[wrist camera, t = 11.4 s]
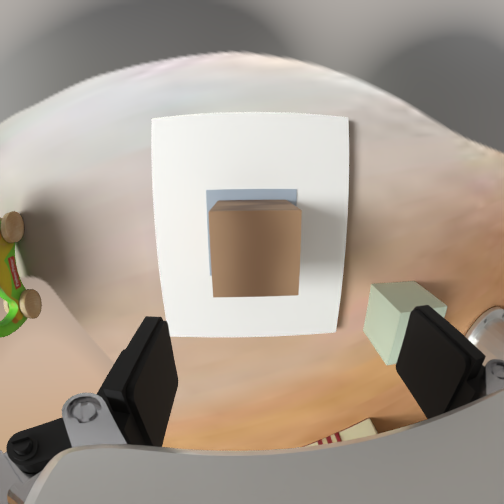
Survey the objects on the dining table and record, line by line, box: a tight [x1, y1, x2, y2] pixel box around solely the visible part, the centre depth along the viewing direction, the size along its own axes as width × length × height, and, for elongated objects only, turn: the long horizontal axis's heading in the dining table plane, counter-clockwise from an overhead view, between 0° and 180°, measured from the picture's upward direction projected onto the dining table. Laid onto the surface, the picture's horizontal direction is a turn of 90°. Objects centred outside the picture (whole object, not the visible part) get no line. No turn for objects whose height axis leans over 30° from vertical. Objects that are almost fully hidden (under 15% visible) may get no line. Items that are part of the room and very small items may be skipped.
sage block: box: [363, 281, 447, 365], centre depth 26 cm, size 6×6×7 cm
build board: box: [151, 112, 349, 337], centre depth 26 cm, size 18×22×1 cm
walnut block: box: [209, 200, 302, 297], centre depth 22 cm, size 6×6×7 cm
